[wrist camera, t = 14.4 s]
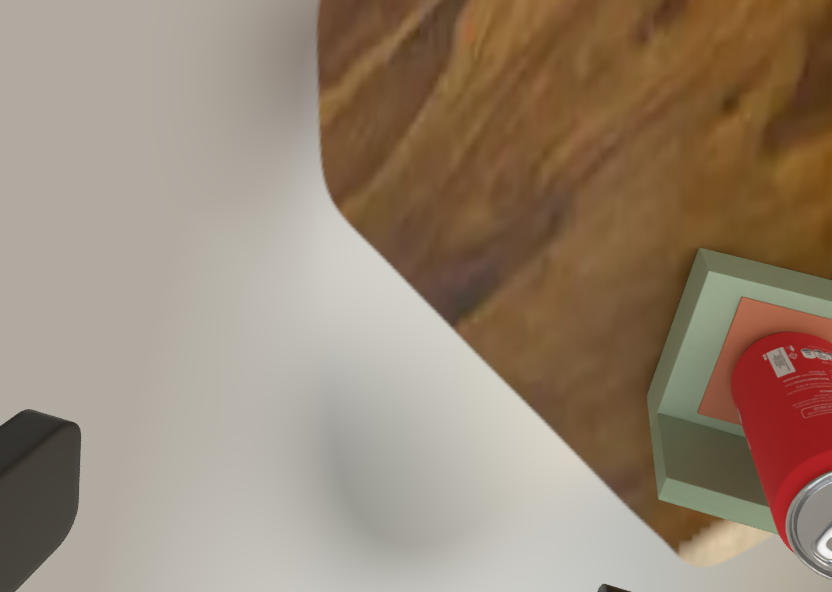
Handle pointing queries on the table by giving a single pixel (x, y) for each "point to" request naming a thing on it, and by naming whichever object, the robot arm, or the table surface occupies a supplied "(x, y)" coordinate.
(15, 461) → the robot arm
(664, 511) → the table surface
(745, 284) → the shelf stand
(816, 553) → the beverage can
